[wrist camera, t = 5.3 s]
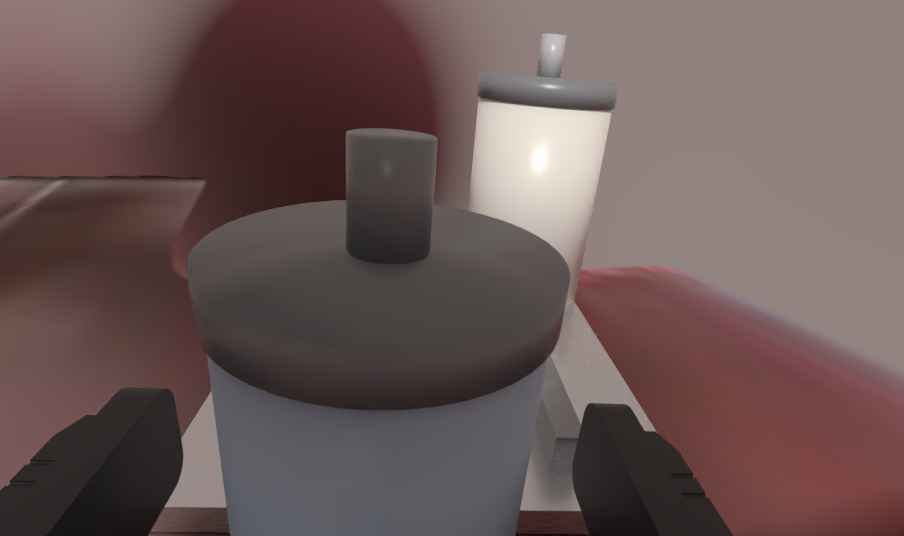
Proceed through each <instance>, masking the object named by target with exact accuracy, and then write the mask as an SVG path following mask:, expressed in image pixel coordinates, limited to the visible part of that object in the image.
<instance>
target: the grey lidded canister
mask: <svg viewBox="0 0 904 536" xmlns="http://www.w3.org/2000/svg"><path fill="white" fill-rule="evenodd" d="M437 141H438V139H437V137H435V136H432V135H429V134H425V133H420V132H414V131H406V130H396V129H355V130H349V131H347V132H346V200H339V201H323V202H313V203H304V204H297V205H291V206H285V207H280V208H275V209H270V210H266V211H262V212H258V213H255V214H251V215H248V216H245V217H242V218H239V219H237V220H234V221H232V222H229V223H227V224H225V225H223V226H221V227H219V228H217V229H215V230H213V231H212V232H210V233H209V234H207V235H206V236H205V237H203V238H202V239H201V240H200V241H199V242H198V243H197V244H196V245H195V246H194V247H193V249H192V250H191V252H190V254H189V256H188V259H187V264H186V270H187V277H188V285H189V292H190V299H191V306H192V314H193V321H194V327H195V333H196V337H197V339H198V341H199V343H200V345H201V347H202V349H203V350H204V351H205V352H206V354H207V360H208V368H209V376H210V383H211V391H212V399H213V407H214V414H215V422H216V430H217V437H218V445H219V453H220V460H221V468H222V476H223V483H224V491H225V499H226V507H227V514H228V522H229V530H230V536H515V534H516V528H517V523H518V518H519V512H520V507H521V501H522V496H523V490H524V485H525V480H526V474H527V469H528V463H529V458H530V452H531V447H532V442H533V436H534V431H535V425H536V420H537V414H538V409H539V403H540V398H541V393H542V387H543V382H544V376H545V371H546V365H547V360H548V357H549V356H550V354H551V353H552V352H553V351H554V349H555V346H556V344H557V342H558V340H559V336H560V331H561V326H562V320H563V315H564V310H565V305H566V300H567V294H568V289H569V283H570V271H569V267H568V265H567V263H566V261H565V259H564V258H563V257H562V255H561V254H560V253H559V252H558V251H557V250H556V249H555V248H554V247H552V246H551V245H550V244H549V243H548V242H546V241H545V240H543V239H541V238H540V237H538V236H537V235H535V234H533V233H531V232H529V231H527V230H525V229H523V228H520V227H518V226H516V225H513V224H511V223H508V222H505V221H502V220H500V219H497V218H493V217H490V216H486V215H483V214H479V213H475V212H471V211H466V210H462V209H456V208H451V207H445V206H440V205H433V198H434V184H435V170H436V169H435V168H436V155H437Z"/></svg>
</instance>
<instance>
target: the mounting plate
mask: <svg viewBox="0 0 904 536" xmlns="http://www.w3.org/2000/svg"><path fill="white" fill-rule="evenodd" d="M589 403H605V404H627V405H628V406H629V407H630V408H631V409H632V410H633V412H634V414H635V415H636V417H637V419H638V420H639V422H640V424H641V425H642V427H643V429H644V430H645V431H655V432H656V430H655V428H654V427H653V425H652V424H651V422H650V421H649V419H648V417H647V416H646V414H645V413H644V411H643V410H642V408H641V406H640V405H639V403H638V402H637V400H636V398H635V397H634V395H633V394H632V392H631V391H630V389H629V387H628V386H627V384H626V383H625V381H624V379H623V378H622V376H621V375H620V373H619V372H618V370H617V368H616V367H615V365H614V364H613V362H612V360H611V359H610V357H609V356H608V354H607V353H606V351H605V349H604V348H603V346H602V345H601V343H600V342H599V340H598V338H597V337H596V335H595V334H594V332H593V330H592V329H591V327H590V326H589V324H588V323H587V321H586V319H585V318H584V316H583V315H582V313H581V311H580V310H579V308H578V307H577V305H576V304H575V302H574V301H573V302H572V303H571V304H569V305H568V306H566V307H565V310H564V315H563V320H562V326H561V331H560V336H559V340H558V342H557V344H556V346H555V349H554V351H553V352H552V353H551V354H550V356H549V357H548V360H547V365H546V371H545V376H544V382H543V387H542V393H541V398H540V403H539V409H538V414H537V420H536V425H535V431H534V436H533V442H532V447H531V452H530V458H529V463H528V469H527V474H526V480H525V485H524V490H523V496H522V501H521V507H520V512H519V518H518V523H517V528H516V534H589V532H588V529H587V526H586V524H585V521H584V518H583V515H582V512H581V509H580V506H579V504H578V501H577V498H576V495H575V491H574V486H573V478H572V465H573V459H574V454H575V450H576V446H577V441H578V437H579V433H580V428H581V424H582V419H583V415H584V411H585V408H586V406H587V405H588V404H589ZM656 433H657V432H656ZM181 441H182V447H183V466H182V471H181V475H180V478H179V481H178V483H177V486H176V488H175V489H174V491H173V493H172V495H171V496H170V498H169V500H168V502H167V503H166V505H165V507H164V509H163V510H162V512H161V514H160V516H159V517H158V519H157V521H156V523H155V524H154V526H153V528H152V529H151V531H150V532H230V530H229V522H228V514H227V507H226V499H225V491H224V483H223V476H222V468H221V460H220V453H219V445H218V437H217V430H216V422H215V414H214V407H213V399H212V391H211V392H210V394H209V396H208V397H207V399H206V400H205V402H204V403H203V405H202V407H201V408H200V410H199V411H198V413H197V415H196V416H195V418H194V419H193V421H192V422H191V424H190V426H189V427H188V429H187V430H186V432H185V434H184V435H183V437H182V438H181Z"/></svg>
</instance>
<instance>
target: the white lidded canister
mask: <svg viewBox="0 0 904 536" xmlns="http://www.w3.org/2000/svg"><path fill="white" fill-rule="evenodd" d="M565 41H566V35H558V34H542V40H541V48H540V55H539V62H538V70H537V75H526V74H515V73H502V72H487V71H479V82H478V92H477V96H479V101H478V112H477V122H476V133H475V143H474V153H473V165H472V174H471V185H470V195H469V206H468V211H471V212H475V213H479V214H483V215H486V216H490V217H493V218H497V219H500V220H502V221H505V222H508V223H511V224H513V225H516V226H518V227H520V228H523V229H525V230H527V231H529V232H531V233H533V234H535V235H537V236H538V237H540V238H541V239H543V240H545V241H546V242H548V243H549V244H550V245H551V246H552V247H554V248H555V249H556V250H557V251H558V252H559V253H560V254H561V255H562V257H563V258H564V259H565V261H566V263H567V265H568V267H569V271H570V283H569V289H568V294H567V300H566V305H565V307H566V306H568V305H569V304H571V303H572V302H573V301H574V299H575V296H576V291H577V286H578V281H579V276H580V271H581V265H582V260H583V255H584V250H585V245H586V240H587V235H588V229H589V225H590V220H591V214H592V210H593V204H594V200H595V194H596V189H597V184H598V179H599V174H600V169H601V164H602V159H603V153H604V149H605V144H606V138H607V133H608V129H609V123H610V118H611V113H612V109H614V108H615V103H616V98H617V93H618V88H619V83H612V82H602V81H593V80H582V79H572V78H561V77H560V73H561V67H562V60H563V54H564V46H565Z"/></svg>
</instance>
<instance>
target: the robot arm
mask: <svg viewBox="0 0 904 536" xmlns="http://www.w3.org/2000/svg"><path fill="white" fill-rule="evenodd" d="M182 466H183V447H182V441H181V435H180V430H179V424H178V418H177V412H176V406H175V400H174V396H173V393H172V392H171V391H170V390H169V389H155V388H123V389H121V390H119V391H118V392H117V393H116V394H115V395H114V396H113V397H112V398H111V400H110V401H109V402H108V403H107V404H106V405H105V406H104V407H103V408H102V409H101V410H100V412H99V413H98V414H97V415H86V416H84V417H83V418H81V419H80V420H78V421H76V422H75V423H73V424H72V425H70V426H68V427H67V428H65V429H64V430H62V431H60V432H59V433H57V434H56V435H54V436H53V437H52V438H51V439H50V440H49V441H48V442H47V443H46V444H45V445H44V446H43V447H42V448H41V449H40V450H39V452H38V453H37V454H36V455H35V456H34V457H33V458H32V459H31V462H30V464H29V465H25V466H24V467H23V468H22V469H21V470H20V471H19V472H18V473H17V474H16V475H15V476H14V477H13V478H12V479H11V480H10V484H9V486H4V487H3V488H2V489H1V490H0V536H148V535H149V533H150V531H151V529H152V528H153V526H154V524H155V523H156V521H157V519H158V517H159V516H160V514H161V512H162V510H163V509H164V507H165V505H166V503H167V502H168V500H169V498H170V496H171V495H172V493H173V491H174V489H175V488H176V486H177V483H178V481H179V478H180V475H181V471H182ZM572 478H573V486H574V491H575V495H576V498H577V501H578V504H579V506H580V509H581V512H582V515H583V518H584V521H585V524H586V526H587V529H588V532H589V535H590V536H733V535H732V533H731V532H730V530H729V529H728V527H727V526H726V524H725V522H724V521H723V519H722V518H721V516H720V515H719V513H718V512H717V510H716V509H715V507H714V506H713V504H712V503H711V501H710V499H709V498H706V496H705V492H704V490H703V489H702V487H701V486H700V484H699V483H698V481H697V479H696V478H693V473H692V472H691V470H690V469H689V467H688V466H687V464H686V463H685V461H684V460H683V458H682V456H681V455H680V453H679V452H678V451H677V450H676V449H675V448H674V447H673V446H672V445H670V444H669V443H668V442H667V441H666V440H665V439H663V438H662V437H661V436H660V435H659V434H658V433H656V432H655V431H645V430H644V429H643V427H642V425H641V424H640V422H639V420H638V419H637V417H636V415H635V414H634V412H633V410H632V409H631V408H630V407H629V406H628V405H627V404H605V403H589V404H588V405H587V406H586V408H585V411H584V415H583V419H582V424H581V428H580V433H579V437H578V441H577V446H576V450H575V454H574V459H573V465H572Z"/></svg>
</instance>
